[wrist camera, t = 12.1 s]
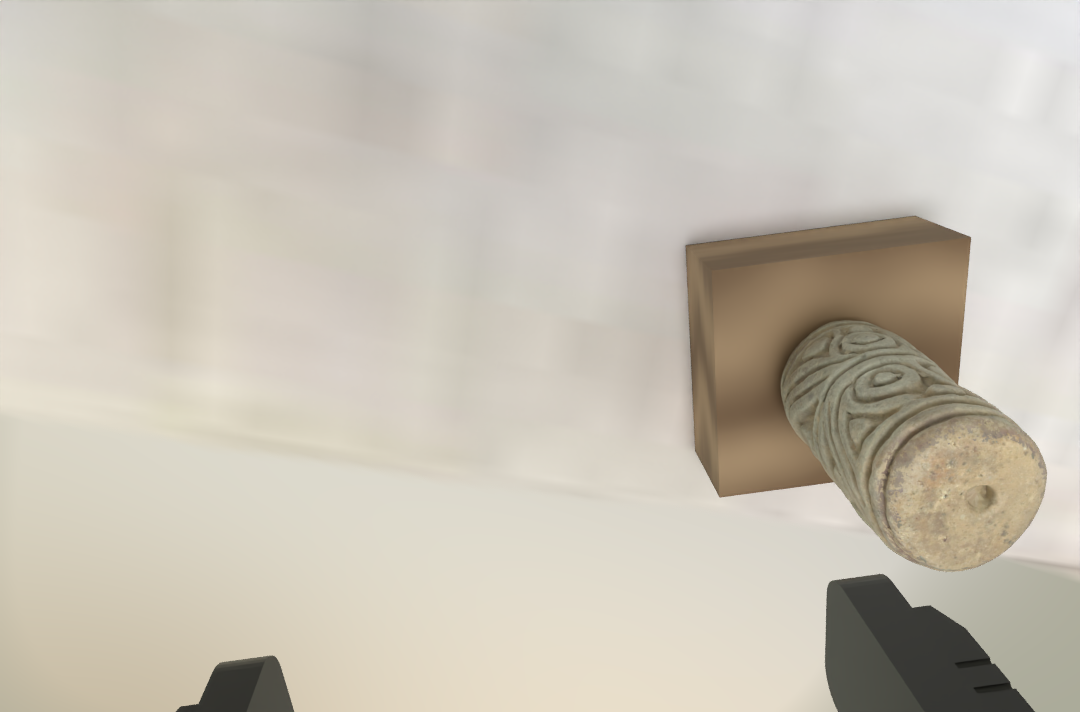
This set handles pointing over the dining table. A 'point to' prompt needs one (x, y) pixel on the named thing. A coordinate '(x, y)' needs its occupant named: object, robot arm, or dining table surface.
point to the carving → (912, 446)
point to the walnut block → (806, 329)
